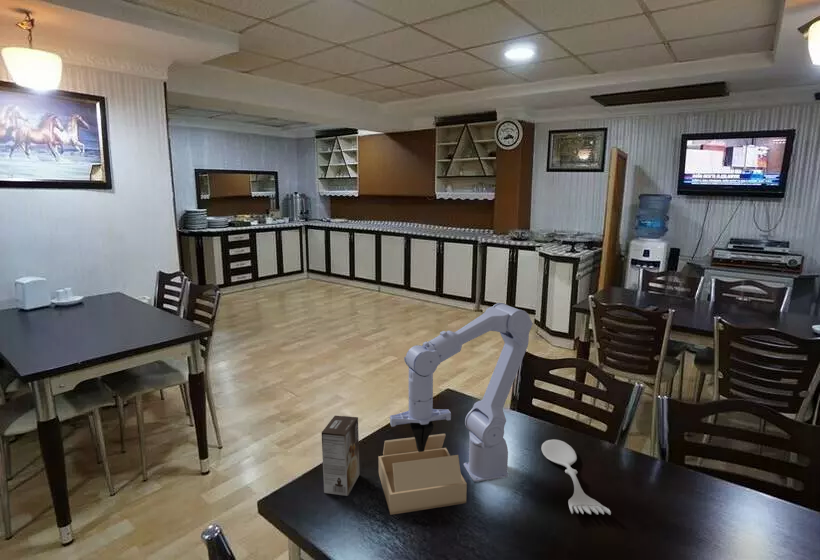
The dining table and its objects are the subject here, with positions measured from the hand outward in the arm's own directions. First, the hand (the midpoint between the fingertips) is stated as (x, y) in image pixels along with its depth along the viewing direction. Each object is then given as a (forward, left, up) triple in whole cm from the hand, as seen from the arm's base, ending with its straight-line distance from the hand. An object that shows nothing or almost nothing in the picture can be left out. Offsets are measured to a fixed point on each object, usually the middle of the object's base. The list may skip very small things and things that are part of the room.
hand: (420, 449), depth 113 cm
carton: (0, 0, -10) cm, 10 cm away
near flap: (0, +6, -2) cm, 7 cm away
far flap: (0, -6, -2) cm, 7 cm away
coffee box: (+18, -6, -10) cm, 22 cm away
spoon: (-38, +5, -11) cm, 39 cm away
